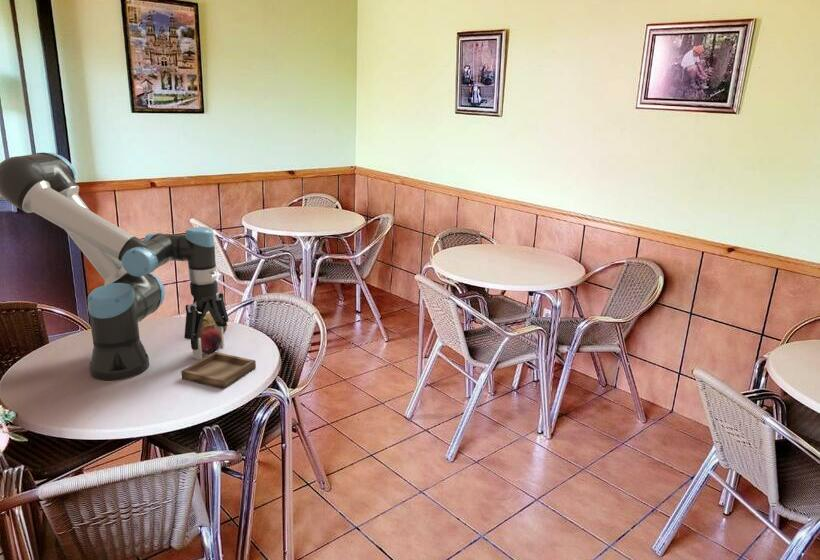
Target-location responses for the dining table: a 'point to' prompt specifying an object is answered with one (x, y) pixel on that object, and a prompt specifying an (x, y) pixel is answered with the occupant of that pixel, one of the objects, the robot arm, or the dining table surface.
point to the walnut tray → (218, 370)
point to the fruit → (209, 340)
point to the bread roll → (210, 322)
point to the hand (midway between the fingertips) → (209, 352)
